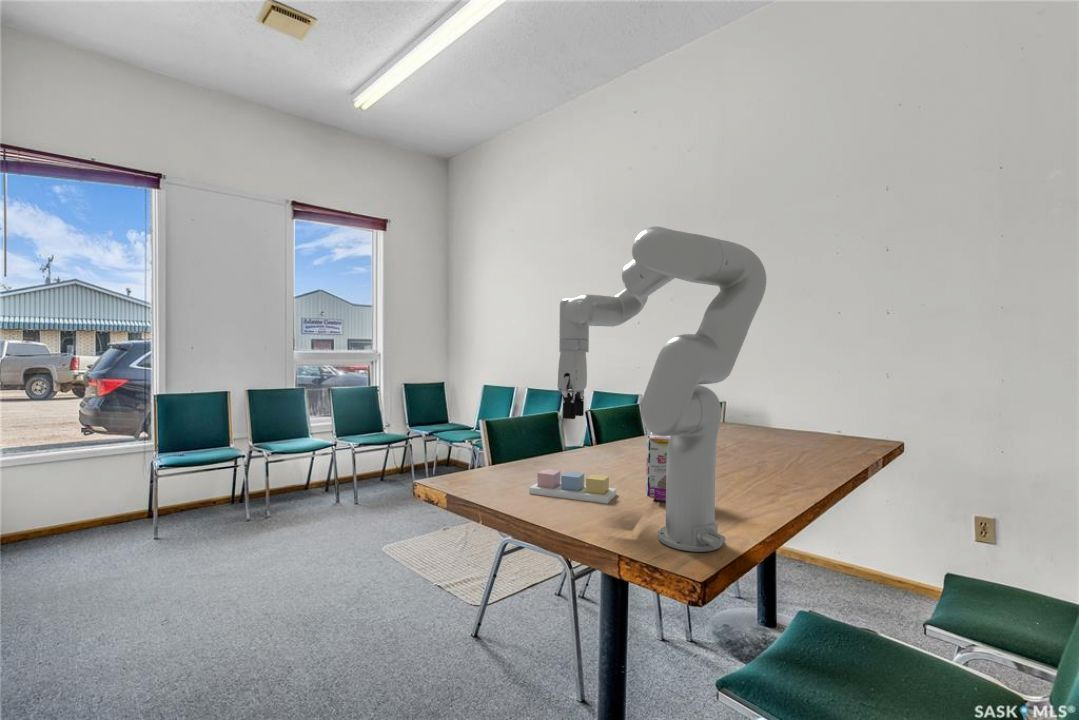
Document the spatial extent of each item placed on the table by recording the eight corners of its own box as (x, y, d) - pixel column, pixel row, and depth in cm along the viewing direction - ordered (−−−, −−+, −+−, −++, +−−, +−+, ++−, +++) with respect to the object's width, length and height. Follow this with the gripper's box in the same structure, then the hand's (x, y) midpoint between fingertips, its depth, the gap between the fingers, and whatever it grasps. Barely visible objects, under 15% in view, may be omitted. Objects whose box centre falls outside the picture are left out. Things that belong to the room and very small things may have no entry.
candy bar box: (647, 502, 129) (648, 438, 129) (645, 496, 134) (645, 434, 134) (692, 504, 128) (693, 439, 128) (688, 498, 133) (689, 435, 133)
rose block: (560, 489, 135) (560, 471, 135) (553, 494, 131) (554, 474, 131) (544, 487, 137) (544, 469, 137) (537, 492, 133) (537, 473, 132)
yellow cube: (608, 495, 130) (608, 476, 130) (603, 500, 126) (603, 480, 125) (591, 493, 132) (591, 474, 131) (585, 498, 127) (586, 478, 127)
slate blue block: (584, 492, 132) (584, 473, 132) (578, 497, 128) (578, 477, 128) (567, 490, 134) (567, 471, 134) (561, 495, 130) (561, 475, 130)
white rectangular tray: (616, 500, 131) (616, 488, 131) (607, 509, 123) (607, 497, 123) (541, 490, 139) (541, 480, 139) (529, 499, 131) (529, 487, 131)
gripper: (571, 346, 140) (570, 412, 140) (547, 346, 124) (547, 420, 124) (597, 347, 137) (597, 414, 137) (576, 346, 121) (576, 422, 121)
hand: (573, 416), depth 131 cm, fingers open, 5 cm apart
